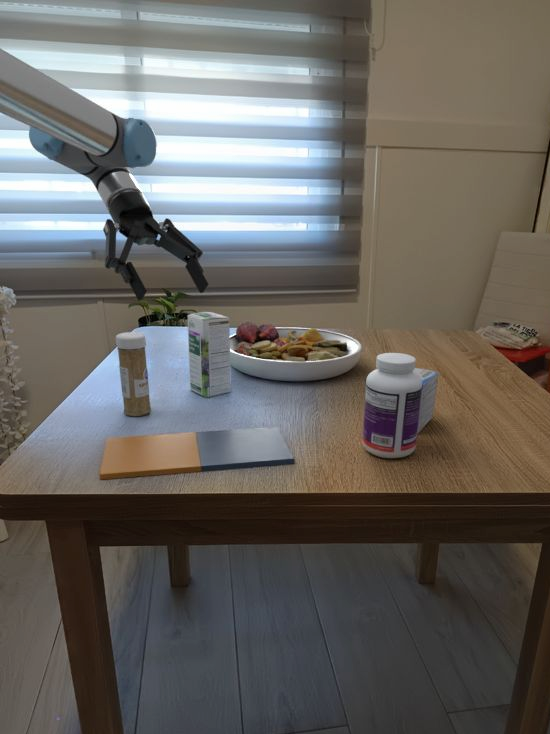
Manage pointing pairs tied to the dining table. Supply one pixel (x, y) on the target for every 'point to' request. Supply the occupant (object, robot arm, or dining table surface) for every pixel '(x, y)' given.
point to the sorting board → (193, 452)
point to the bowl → (292, 352)
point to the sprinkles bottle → (133, 373)
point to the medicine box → (426, 396)
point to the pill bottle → (392, 406)
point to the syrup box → (209, 353)
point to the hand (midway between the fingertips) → (174, 292)
